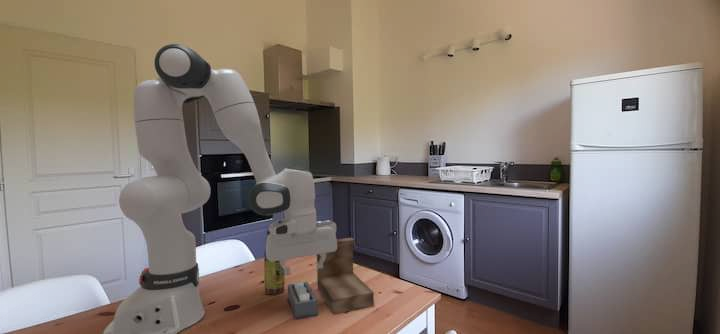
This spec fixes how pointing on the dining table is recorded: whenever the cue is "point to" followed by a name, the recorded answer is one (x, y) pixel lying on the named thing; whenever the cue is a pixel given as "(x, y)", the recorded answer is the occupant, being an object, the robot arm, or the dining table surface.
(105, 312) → the dining table surface
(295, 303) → the grey egg holder
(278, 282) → the sauce bottle
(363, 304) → the walnut shelf
